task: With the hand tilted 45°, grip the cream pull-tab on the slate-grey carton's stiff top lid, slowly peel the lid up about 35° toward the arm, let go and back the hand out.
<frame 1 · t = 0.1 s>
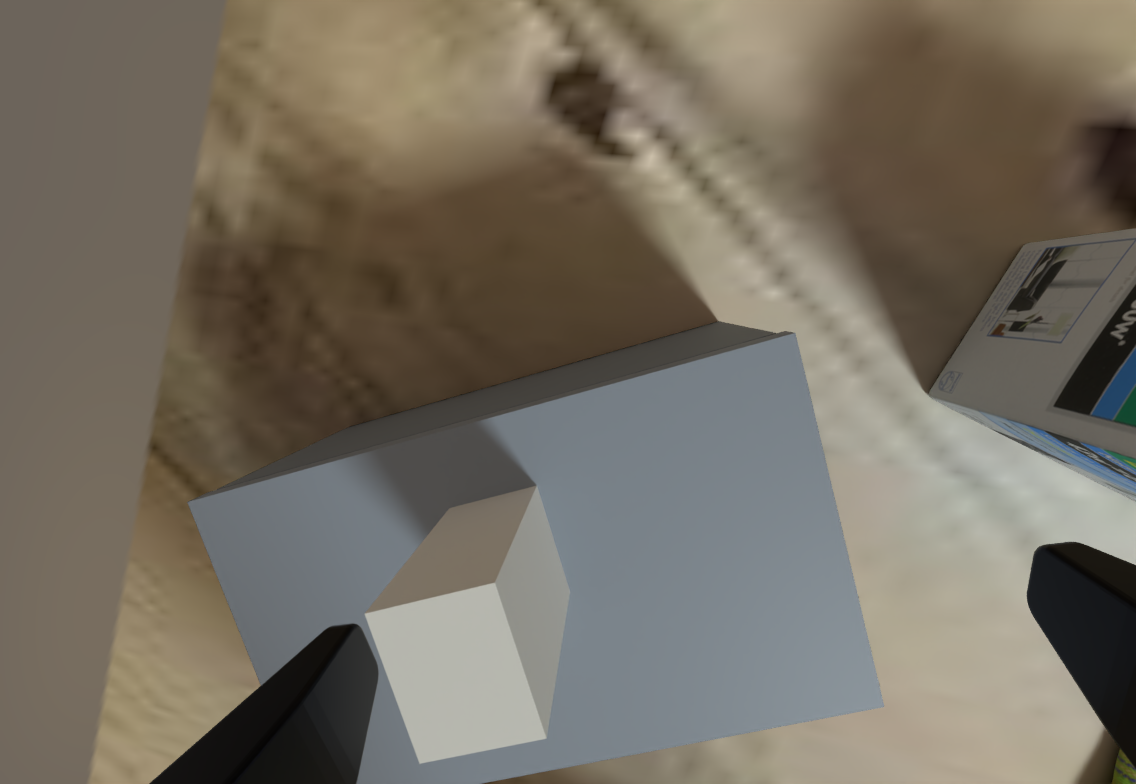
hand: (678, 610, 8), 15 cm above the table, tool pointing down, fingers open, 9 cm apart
carton: (560, 489, 24), on the table
light bulb box: (1091, 380, 21), on the table
carton lid: (512, 650, 13), point 11 cm above the table, hinge at 0.0°
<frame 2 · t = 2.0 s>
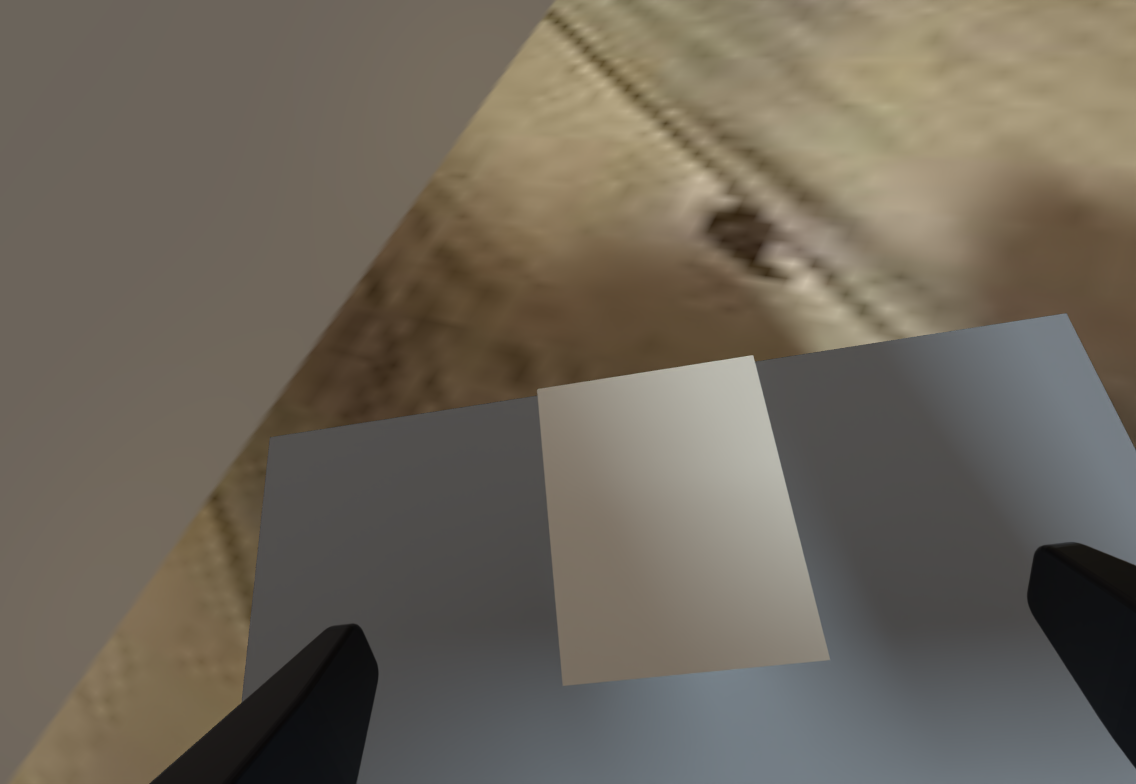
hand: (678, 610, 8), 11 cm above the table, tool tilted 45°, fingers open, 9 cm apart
carton lid: (683, 652, 8), point 11 cm above the table, hinge at 0.0°
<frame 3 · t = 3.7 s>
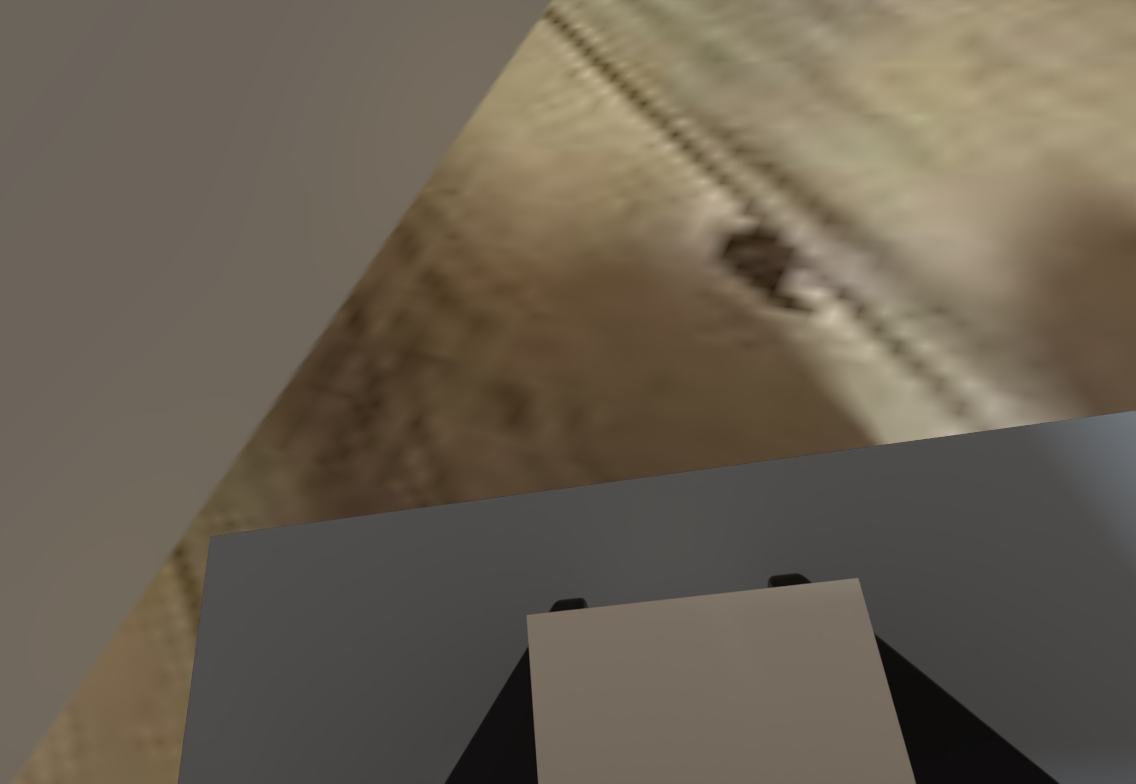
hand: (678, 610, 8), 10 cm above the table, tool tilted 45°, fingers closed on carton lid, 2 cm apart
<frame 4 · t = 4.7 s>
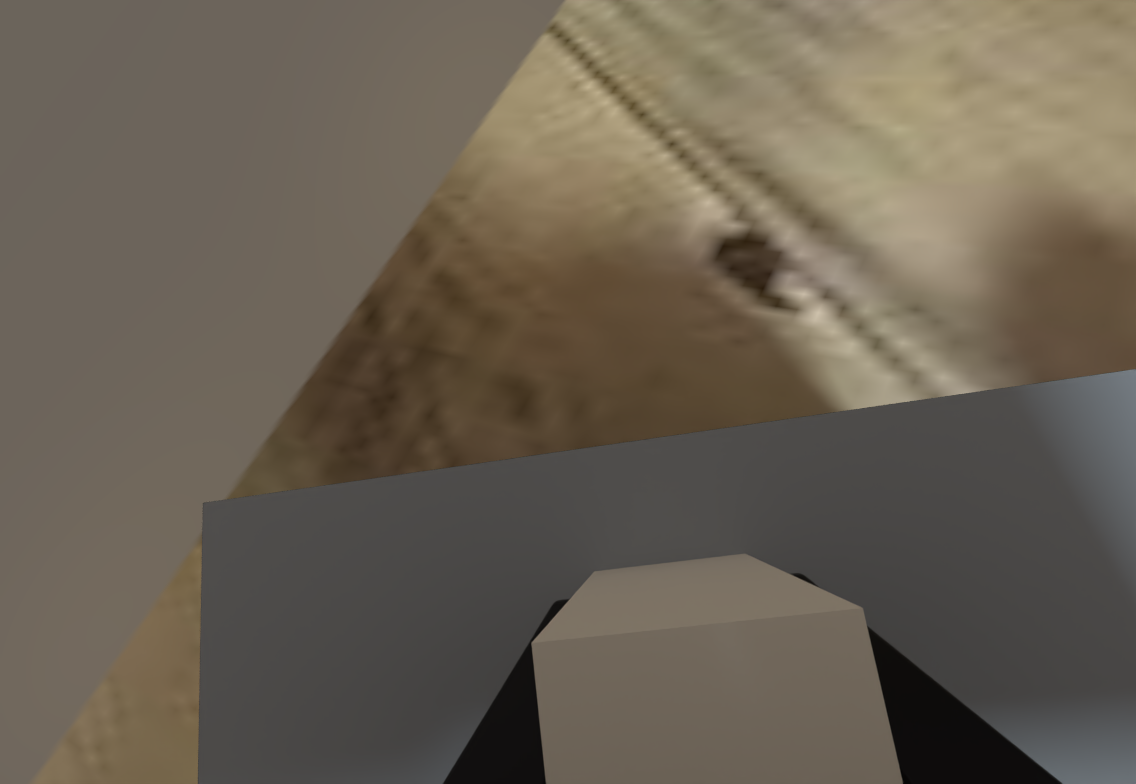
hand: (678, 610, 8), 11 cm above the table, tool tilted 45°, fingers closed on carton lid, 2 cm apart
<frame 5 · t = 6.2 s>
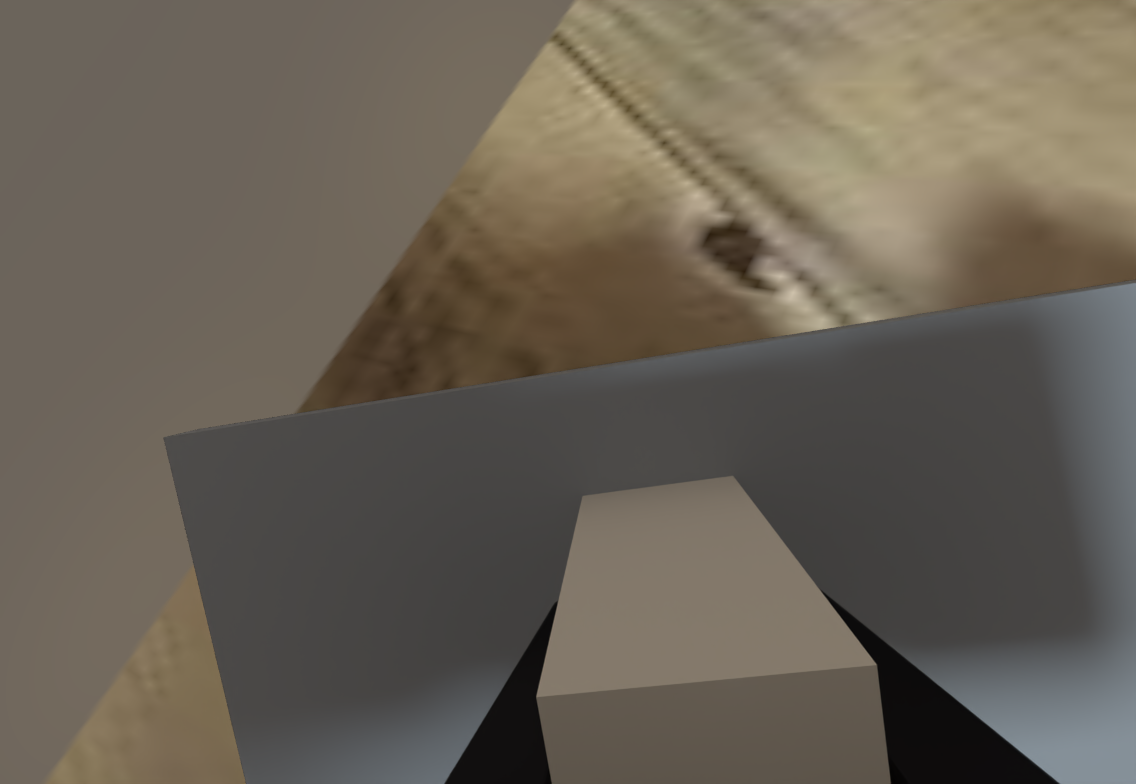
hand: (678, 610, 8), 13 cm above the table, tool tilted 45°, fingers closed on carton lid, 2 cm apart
carton lid: (701, 758, 7), point 13 cm above the table, hinge at 27.6°, touching gripper
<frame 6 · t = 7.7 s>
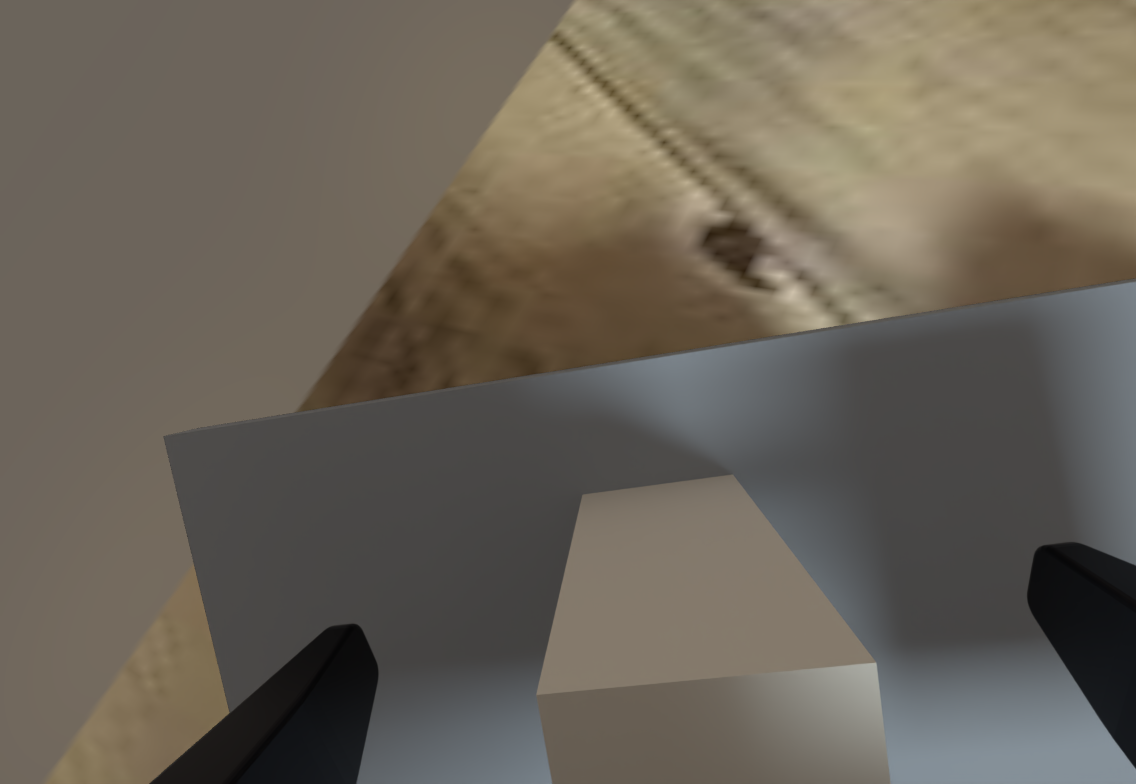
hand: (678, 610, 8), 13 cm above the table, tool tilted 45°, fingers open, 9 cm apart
carton lid: (701, 757, 7), point 13 cm above the table, hinge at 27.6°
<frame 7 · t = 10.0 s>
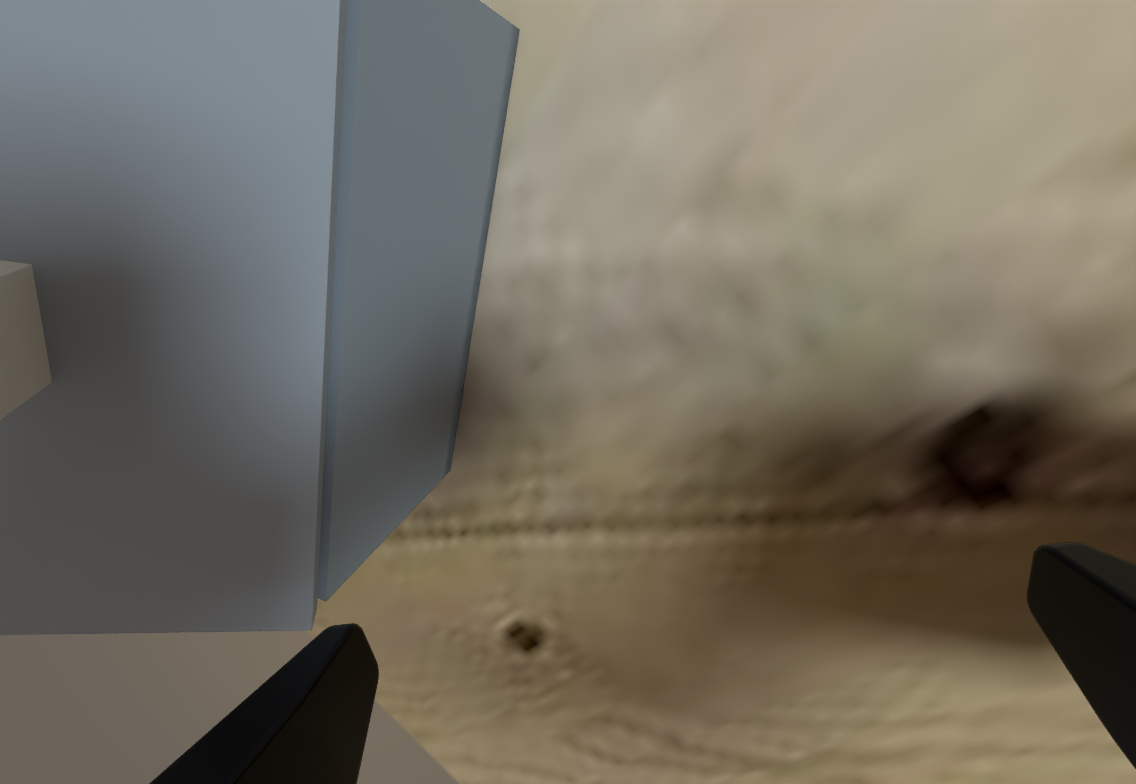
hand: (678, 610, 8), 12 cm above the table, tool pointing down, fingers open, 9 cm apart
carton: (356, 249, 21), on the table
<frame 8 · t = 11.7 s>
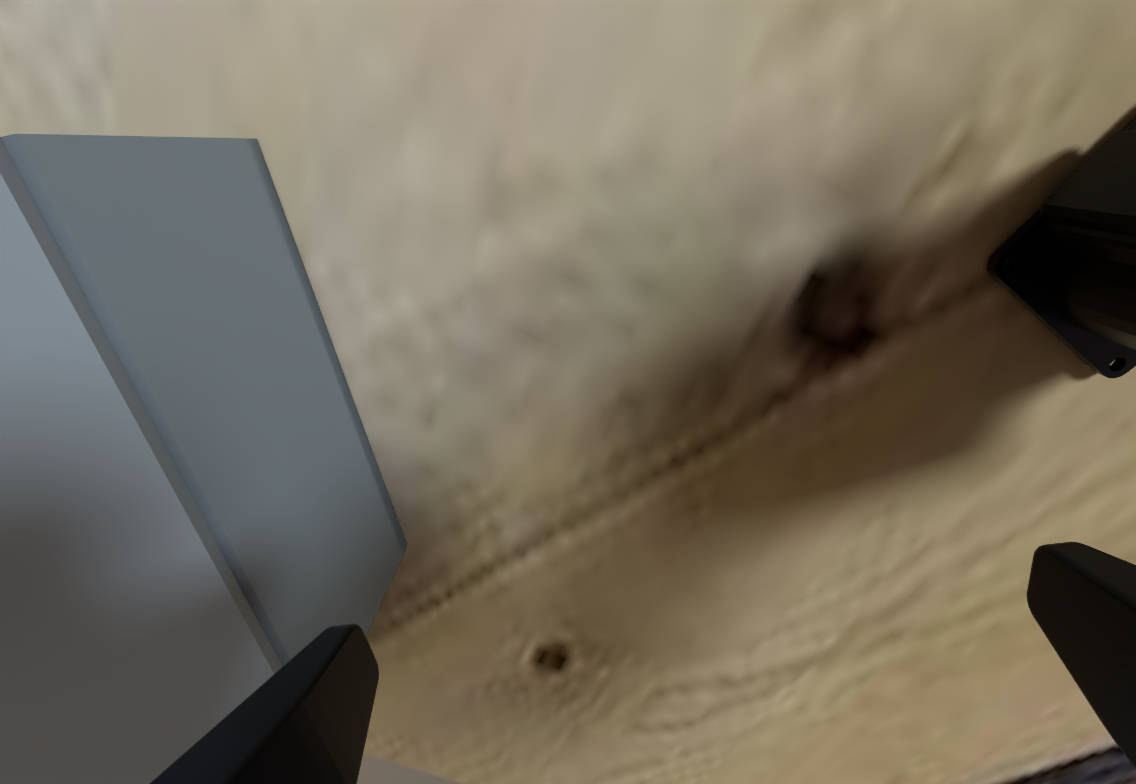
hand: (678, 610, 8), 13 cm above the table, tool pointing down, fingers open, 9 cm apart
carton: (219, 393, 21), on the table
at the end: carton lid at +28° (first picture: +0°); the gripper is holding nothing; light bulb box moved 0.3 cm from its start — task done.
